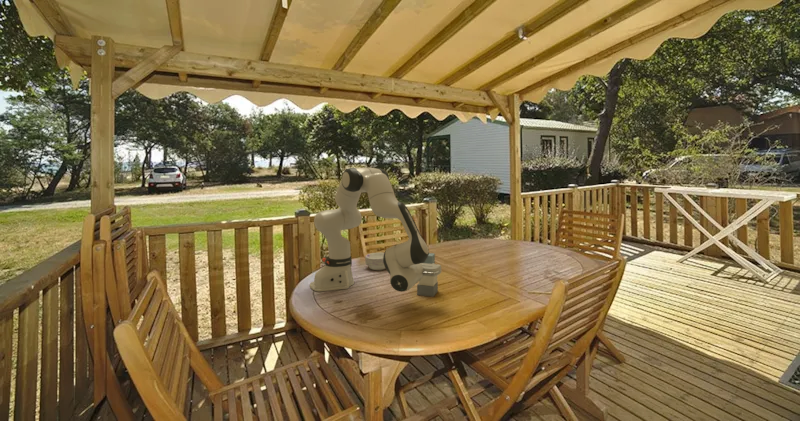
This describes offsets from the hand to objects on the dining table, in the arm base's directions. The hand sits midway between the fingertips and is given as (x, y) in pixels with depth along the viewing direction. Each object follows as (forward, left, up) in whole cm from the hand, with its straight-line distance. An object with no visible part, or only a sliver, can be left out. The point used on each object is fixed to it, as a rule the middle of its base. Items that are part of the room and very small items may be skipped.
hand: (423, 263), depth 166 cm
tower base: (+5, +4, -16) cm, 18 cm away
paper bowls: (+3, +54, -16) cm, 57 cm away
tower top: (+6, +4, -11) cm, 13 cm away
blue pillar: (+6, +4, -6) cm, 10 cm away
